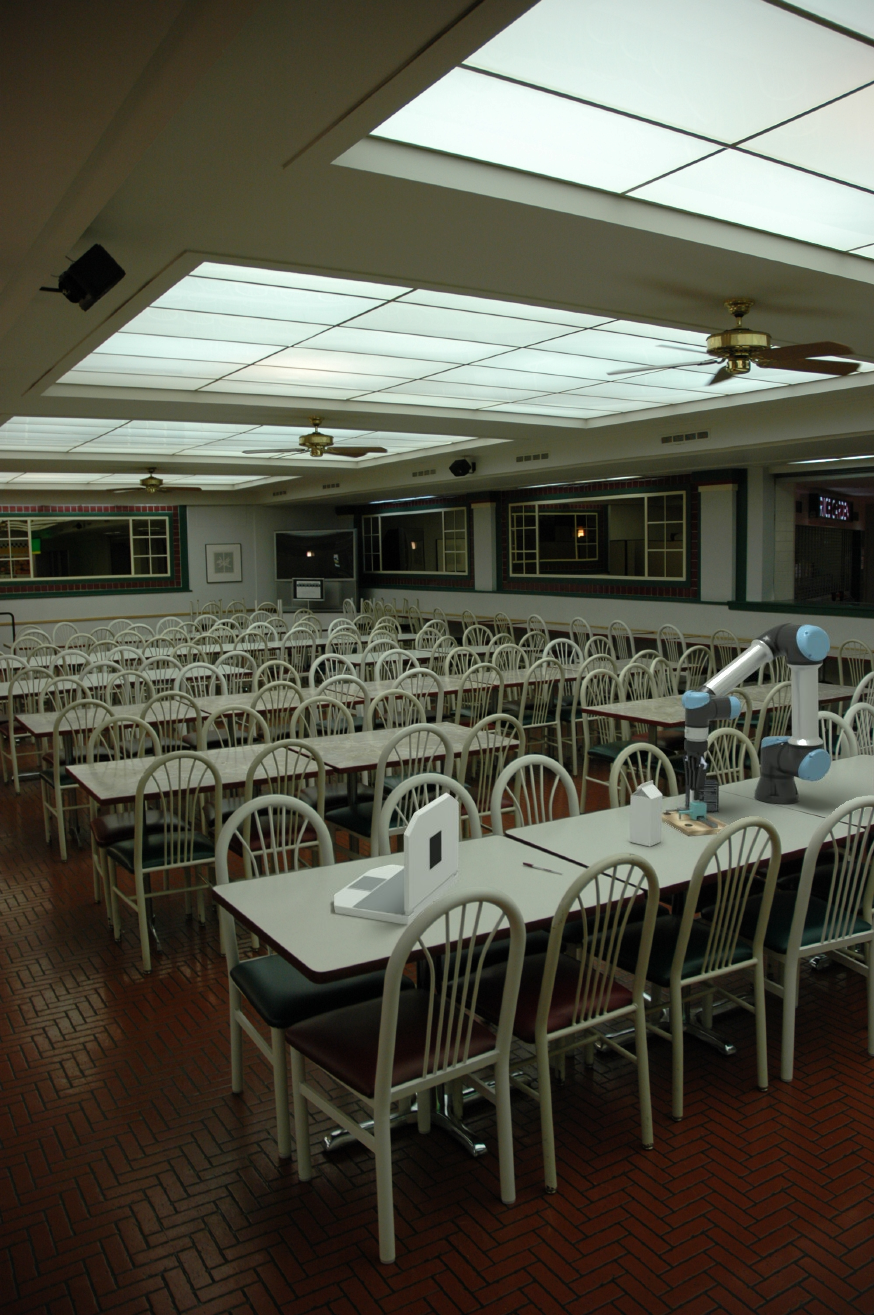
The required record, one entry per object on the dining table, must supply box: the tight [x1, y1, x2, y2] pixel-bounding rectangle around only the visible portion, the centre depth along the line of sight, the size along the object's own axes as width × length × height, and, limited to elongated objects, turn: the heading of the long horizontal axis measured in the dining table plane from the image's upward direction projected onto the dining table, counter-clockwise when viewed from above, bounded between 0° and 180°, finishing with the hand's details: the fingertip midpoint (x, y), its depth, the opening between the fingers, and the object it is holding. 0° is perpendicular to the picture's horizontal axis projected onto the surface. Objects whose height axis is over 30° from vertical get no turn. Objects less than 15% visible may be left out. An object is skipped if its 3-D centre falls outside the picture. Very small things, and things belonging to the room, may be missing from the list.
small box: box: [684, 779, 720, 813], centre depth 323 cm, size 11×6×10 cm, turn 84°
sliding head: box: [678, 801, 707, 820], centre depth 306 cm, size 9×3×5 cm, turn 105°
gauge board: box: [662, 811, 728, 836], centre depth 306 cm, size 16×22×2 cm
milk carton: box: [629, 780, 663, 847], centre depth 287 cm, size 7×7×19 cm
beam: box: [665, 806, 718, 828], centre depth 306 cm, size 9×20×1 cm, turn 15°
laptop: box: [333, 792, 460, 926], centre depth 242 cm, size 33×24×26 cm
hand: (694, 808), depth 309 cm, fingers closed
